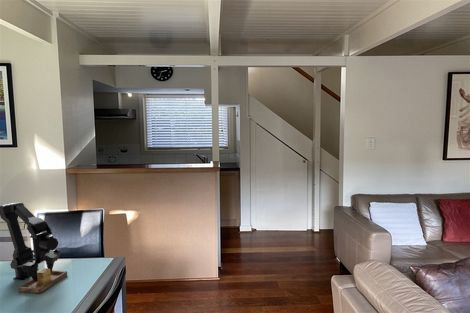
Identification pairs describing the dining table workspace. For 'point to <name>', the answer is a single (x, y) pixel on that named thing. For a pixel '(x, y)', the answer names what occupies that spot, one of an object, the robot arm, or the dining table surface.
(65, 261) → the dining table surface
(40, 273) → the ochre block
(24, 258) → the robot arm
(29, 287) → the walnut tray
